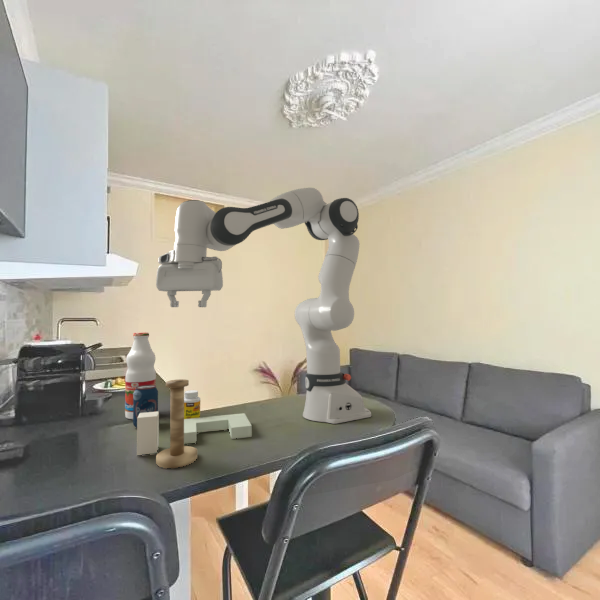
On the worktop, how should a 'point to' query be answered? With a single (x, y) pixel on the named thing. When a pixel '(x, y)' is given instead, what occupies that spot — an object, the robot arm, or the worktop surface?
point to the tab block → (147, 432)
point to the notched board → (218, 426)
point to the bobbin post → (176, 430)
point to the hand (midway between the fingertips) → (188, 307)
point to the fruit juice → (138, 369)
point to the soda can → (144, 400)
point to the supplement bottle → (191, 404)
